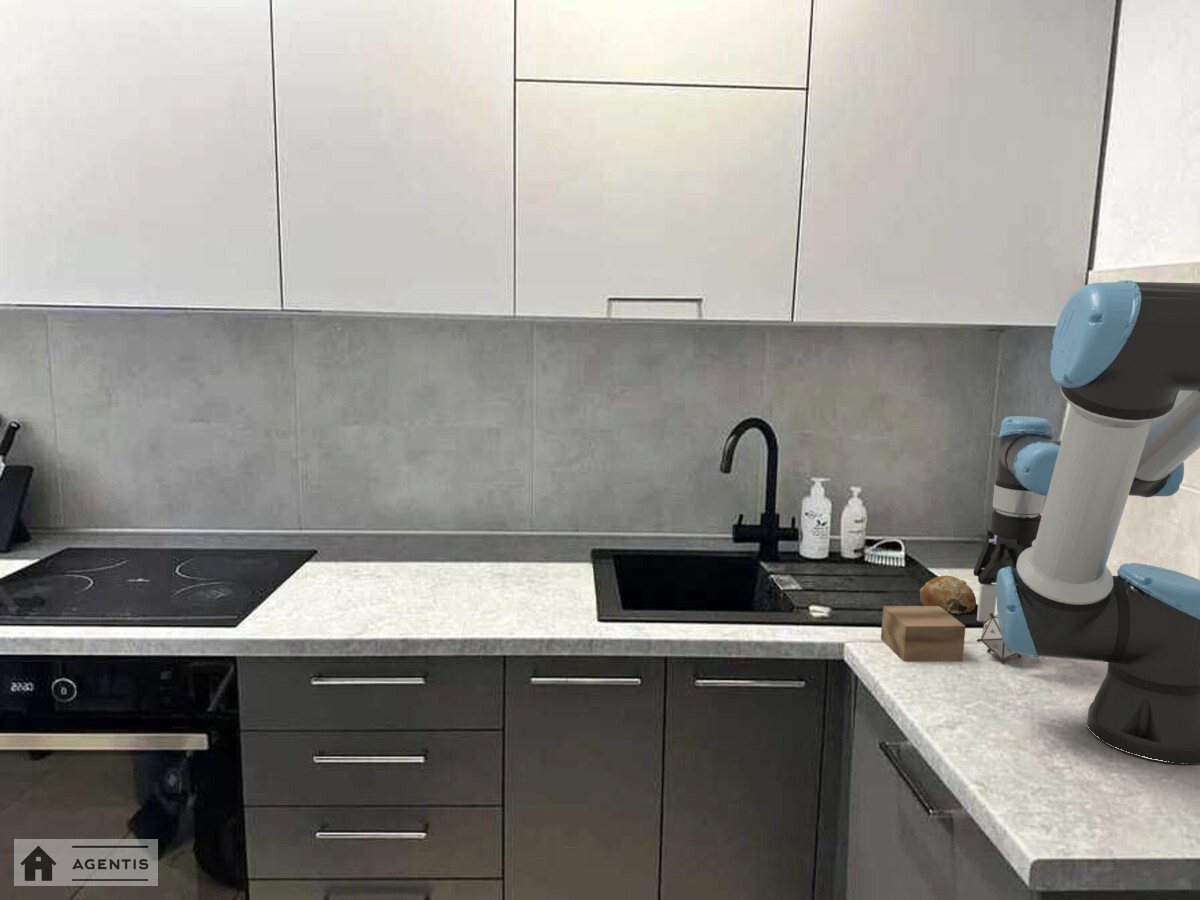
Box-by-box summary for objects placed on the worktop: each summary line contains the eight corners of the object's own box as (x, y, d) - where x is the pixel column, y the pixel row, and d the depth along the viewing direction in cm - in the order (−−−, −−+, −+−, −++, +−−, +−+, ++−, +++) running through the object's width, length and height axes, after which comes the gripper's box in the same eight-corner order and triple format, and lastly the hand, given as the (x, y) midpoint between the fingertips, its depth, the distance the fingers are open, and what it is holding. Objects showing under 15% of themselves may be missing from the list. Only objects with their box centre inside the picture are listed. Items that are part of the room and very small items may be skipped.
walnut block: (962, 660, 149) (965, 626, 148) (903, 661, 149) (906, 626, 148) (936, 638, 159) (939, 605, 158) (880, 638, 158) (883, 606, 157)
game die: (992, 681, 150) (961, 635, 149) (998, 648, 157) (967, 604, 155) (1046, 669, 145) (1013, 621, 143) (1049, 635, 151) (1018, 589, 150)
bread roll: (932, 632, 173) (947, 601, 168) (905, 594, 181) (918, 564, 176) (976, 627, 175) (991, 597, 171) (947, 591, 184) (961, 561, 179)
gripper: (1085, 532, 135) (1069, 666, 139) (1001, 494, 159) (990, 608, 163) (1036, 532, 134) (1022, 667, 138) (960, 494, 159) (949, 609, 162)
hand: (1004, 635), depth 151 cm, fingers open, 13 cm apart
